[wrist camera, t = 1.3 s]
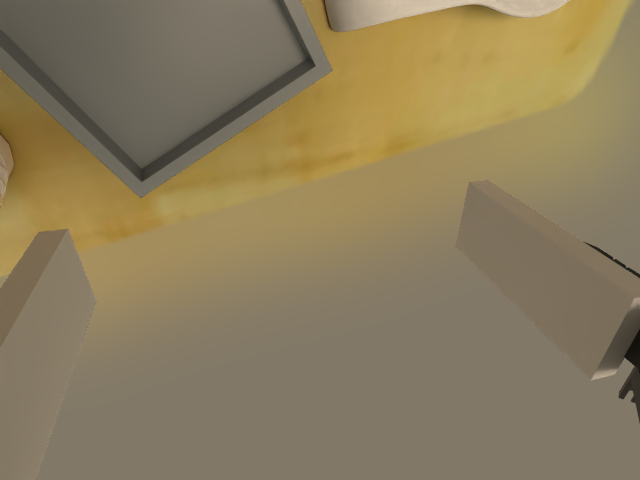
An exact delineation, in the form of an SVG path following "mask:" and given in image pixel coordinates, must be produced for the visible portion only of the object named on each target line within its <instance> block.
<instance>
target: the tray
mask: <svg viewBox="0 0 640 480" xmlns="http://www.w3.org/2000/svg"><path fill="white" fill-rule="evenodd" d="M0 69H1V70H2V71H3V72H5V73H6V74H7V75H8V76H9V77H10V78H11V79H12V80H13V81H14V82H15V83H16V84H17V85H19V86H20V87H21V88H22V89H23V90H24V91H25V92H26V93H27V94H28V95H29V96H30V97H32V98H33V99H34V100H35V101H36V102H37V103H38V104H39V105H40V106H41V107H42V108H43V109H45V110H46V111H47V112H48V113H49V114H50V115H51V116H52V117H53V118H54V119H55V120H56V121H58V122H59V123H60V124H61V125H62V126H63V127H64V128H65V129H66V130H67V131H68V132H69V133H71V134H72V135H73V136H74V137H75V138H76V139H77V140H78V141H79V142H80V143H81V144H82V145H84V146H85V147H86V148H87V149H88V150H89V151H90V152H91V153H92V154H93V155H94V156H95V157H97V158H98V159H99V160H100V161H101V162H102V163H103V164H104V165H105V166H106V167H107V168H108V169H110V170H111V171H112V172H113V173H114V174H115V175H116V176H117V177H118V178H119V179H120V180H121V181H123V182H124V183H125V184H126V185H127V186H128V187H129V188H130V189H131V190H132V191H133V192H134V193H136V194H137V195H138V196H139V197H140V198H142V197H143V196H145V195H146V194H148V193H149V192H151V191H152V190H154V189H155V188H157V187H158V186H160V185H161V184H163V183H164V182H166V181H167V180H169V179H170V178H172V177H173V176H175V175H176V174H178V173H179V172H181V171H182V170H184V169H185V168H187V167H188V166H190V165H191V164H193V163H194V162H196V161H197V160H199V159H200V158H202V157H203V156H205V155H206V154H208V153H209V152H211V151H212V150H214V149H215V148H217V147H218V146H220V145H221V144H223V143H224V142H226V141H227V140H229V139H230V138H232V137H233V136H235V135H236V134H238V133H239V132H241V131H242V130H244V129H245V128H247V127H248V126H250V125H251V124H253V123H254V122H256V121H257V120H259V119H260V118H262V117H263V116H265V115H267V114H268V113H270V112H271V111H273V110H274V109H276V108H277V107H279V106H280V105H282V104H283V103H285V102H286V101H288V100H289V99H291V98H292V97H294V96H295V95H297V94H298V93H300V92H301V91H303V90H304V89H306V88H307V87H309V86H310V85H312V84H313V83H315V82H316V81H318V80H319V79H321V78H322V77H324V76H325V75H327V74H328V73H330V72H331V71H333V70H332V68H331V66H330V63H329V61H328V59H327V57H326V55H325V53H324V50H323V48H322V46H321V44H320V42H319V40H318V37H317V35H316V33H315V31H314V29H313V27H312V24H311V22H310V20H309V18H308V16H307V14H306V11H305V9H304V7H303V5H302V3H301V1H300V0H0Z"/></svg>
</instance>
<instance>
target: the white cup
mask: <svg viewBox="0 0 640 480" xmlns="http://www.w3.org/2000/svg"><path fill="white" fill-rule="evenodd" d="M13 167H14V161H13V157H12V153H11V149H10V145H9V144H8V143H7V141H6V140H5V139H4V138H3V137H2V136H1V134H0V207H1V204H2V202H3V198H4V195H5V193H6V190H7V182H8V179H9V177H10V174H11V172H12V169H13Z"/></svg>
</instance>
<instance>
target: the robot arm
mask: <svg viewBox="0 0 640 480" xmlns="http://www.w3.org/2000/svg"><path fill="white" fill-rule="evenodd" d="M456 247H457V248H458V250H459V251H461V253H463V254H464V255H465V256H466V257H467V258H468V259H469V260H470V261H471V262H472V263H473V264H474V265H475V266H476V267H477V268H478V269H479V270H480V271H481V272H482V273H483V274H484V275H485V276H486V277H487V278H488V279H489V280H490V281H491V282H492V283H493V284H494V285H495V286H496V287H497V288H498V289H499V290H500V291H501V292H502V293H503V294H504V295H505V296H506V297H507V298H508V299H509V300H510V301H511V302H512V303H513V304H514V305H515V306H516V307H517V308H518V309H519V310H520V311H521V312H522V313H523V314H524V315H525V316H526V317H527V318H528V319H529V320H530V321H531V322H532V323H533V324H534V325H535V326H536V327H537V328H538V329H539V330H540V331H541V332H543V334H544V335H545V336H546V337H547V338H549V340H551V342H552V343H553V344H555V345H556V346H557V347H558V348H559V349H560V350H561V351H562V352H563V353H564V354H565V355H566V356H567V357H568V358H569V359H570V360H571V361H572V362H573V363H574V364H575V365H576V366H577V367H578V368H579V369H580V370H581V371H582V372H583V373H584V374H585V375H586V376H587V377H588V378H589V379H590V380H594V379H598V378H602V377H606V376H610V375H614V374H615V373H616V371H617V370H618V368H619V366H620V364H621V363H622V361H623V359H624V358H626V359H627V360H628V361H630V362H631V363H632V364H633V365H634V366H635V367H634V368H633V370H632V372H631V373H630V375H629V377H628V378H627V380H626V381H625V383H624V385H623V386H622V388H621V390H620V392H619V398H621V399H624V398H625V396H626V395H627V393H628V391H630V390H632V391H633V393H634V396H633V398H632V400H631V402H634V403H636V407H637V412H638V416H639V421H640V274H638V273H636V272H635V271H633V270H632V269H630V268H626V266H625V265H624V264H622V263H621V262H619V261H618V260H616V259H615V260H613V257H611V256H610V255H608V254H607V253H605V252H604V251H602V250H600V249H599V248H597V247H595V246H593V245H590V244H588V243H585V242H583V241H581V240H580V239H578V238H576V237H575V236H573V235H572V234H570V233H569V232H567V231H566V230H564V229H563V228H561V227H559V226H558V225H556V224H555V223H553V222H552V221H550V220H549V219H547V218H546V217H544V216H543V215H541V214H539V213H538V212H536V211H535V210H533V209H532V208H530V207H529V206H527V205H525V204H524V203H522V202H521V201H519V200H518V199H516V198H515V197H513V196H512V195H510V194H508V193H507V192H505V191H504V190H502V189H501V188H499V187H498V186H496V185H494V184H493V183H491V182H490V181H488V180H484V181H475V182H469V184H468V189H467V194H466V198H465V203H464V208H463V213H462V218H461V222H460V227H459V232H458V237H457V242H456ZM95 304H96V299H95V297H94V294H93V291H92V289H91V287H90V284H89V281H88V279H87V276H86V274H85V271H84V268H83V266H82V264H81V261H80V258H79V256H78V253H77V251H76V248H75V245H74V243H73V240H72V238H71V235H70V233H69V230H68V229H62V230H53V231H45V232H38V234H37V235H36V237H35V238H34V240H33V241H32V243H31V244H30V246H29V247H28V249H27V250H26V252H25V253H24V254H23V256H22V257H21V259H20V260H19V262H18V263H17V265H16V266H15V268H14V269H13V271H12V272H11V273H10V275H9V276H8V278H7V279H6V281H5V282H4V284H3V285H2V287H1V288H0V480H36V477H37V474H38V471H39V468H40V465H41V462H42V460H43V457H44V454H45V451H46V448H47V445H48V442H49V439H50V436H51V433H52V430H53V427H54V425H55V422H56V419H57V416H58V413H59V410H60V407H61V404H62V401H63V398H64V395H65V392H66V389H67V386H68V383H69V380H70V378H71V375H72V372H73V369H74V366H75V363H76V360H77V357H78V354H79V351H80V348H81V345H82V342H83V339H84V336H85V334H86V331H87V328H88V325H89V321H90V319H91V316H92V313H93V310H94V307H95Z"/></svg>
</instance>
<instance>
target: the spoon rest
mask: <svg viewBox="0 0 640 480" xmlns="http://www.w3.org/2000/svg"><path fill="white" fill-rule="evenodd" d="M568 1H569V0H325V5H326V10H327V15H328V19H329V23H330V26H331V28H332V30H334V31H336V32H346V31H352V30H356V29H360V28H364V27H368V26H373V25H377V24H381V23H385V22H389V21H393V20H397V19H401V18H405V17H410V16H415V15H419V14H424V13H429V12H433V11H438V10H442V9H447V8H451V7H457V6H463V5H471V4H477V5H483V6H486V7H489V8H491V9H493V10H496V11H498V12H500V13H503V14H506V15H510V16H514V17H520V18H532V17H538V16H542V15H545V14H548V13H550V12H553V11H554V10H556V9H558V8H559V7H561V6H562V5H564V4H565V3H566V2H568Z"/></svg>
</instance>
